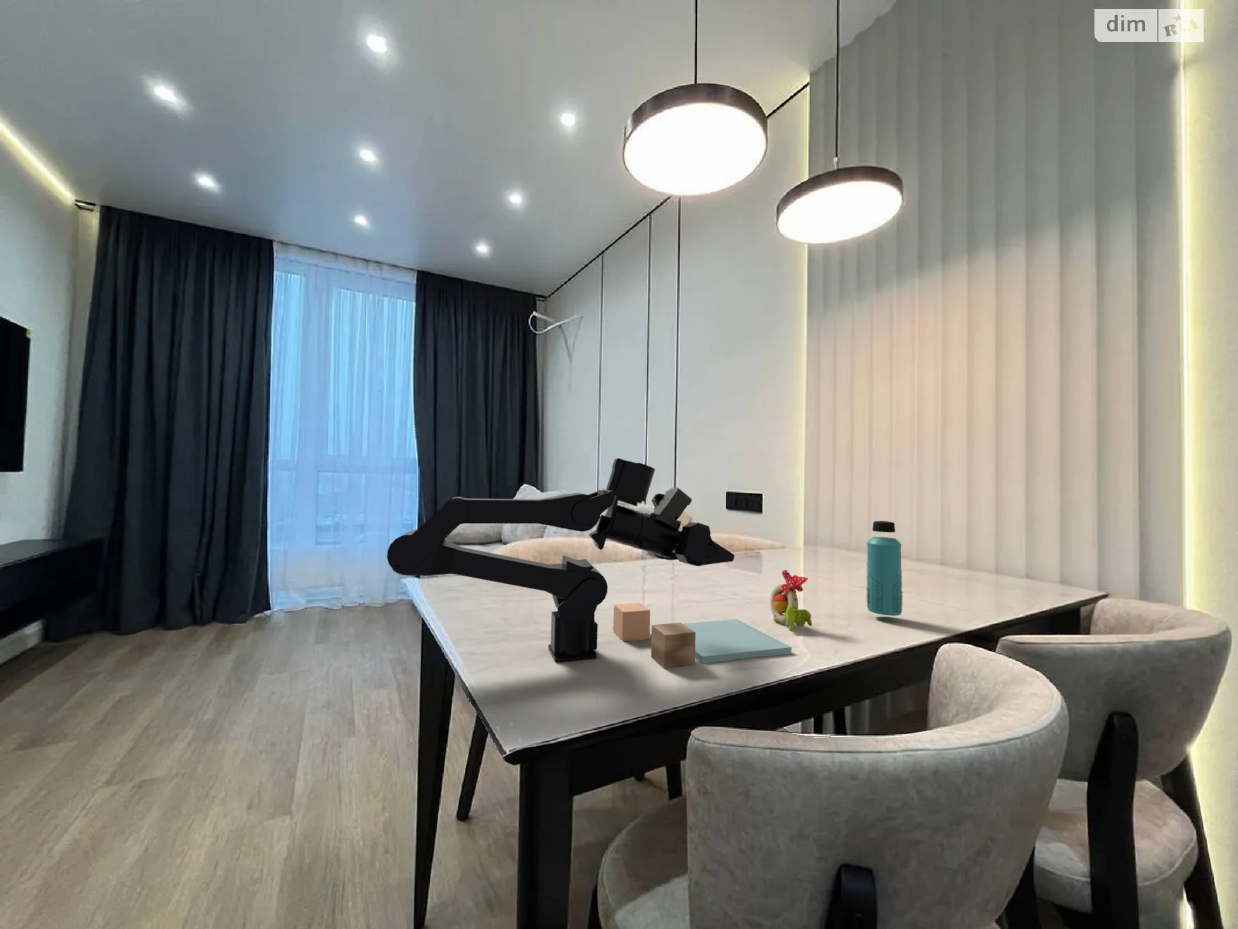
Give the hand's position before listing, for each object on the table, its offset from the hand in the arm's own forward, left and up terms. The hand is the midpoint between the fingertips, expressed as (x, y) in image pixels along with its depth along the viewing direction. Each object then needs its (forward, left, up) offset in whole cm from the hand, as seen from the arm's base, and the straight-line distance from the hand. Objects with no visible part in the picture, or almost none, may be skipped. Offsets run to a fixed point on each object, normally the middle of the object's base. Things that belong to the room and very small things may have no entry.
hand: (720, 556), depth 82 cm
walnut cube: (-11, -5, -15) cm, 19 cm away
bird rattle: (+18, +6, -15) cm, 24 cm away
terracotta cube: (-13, +8, -15) cm, 21 cm away
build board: (+1, +1, -15) cm, 15 cm away
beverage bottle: (+41, +5, -15) cm, 44 cm away
